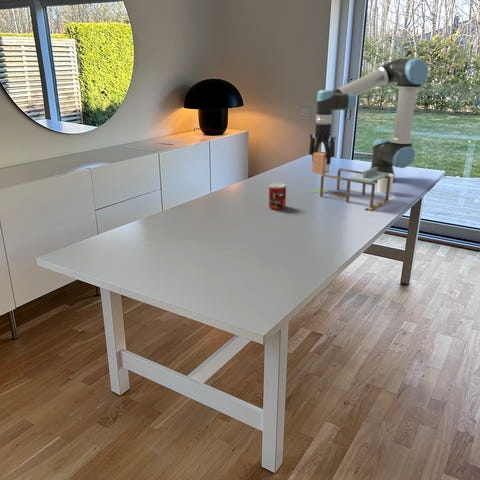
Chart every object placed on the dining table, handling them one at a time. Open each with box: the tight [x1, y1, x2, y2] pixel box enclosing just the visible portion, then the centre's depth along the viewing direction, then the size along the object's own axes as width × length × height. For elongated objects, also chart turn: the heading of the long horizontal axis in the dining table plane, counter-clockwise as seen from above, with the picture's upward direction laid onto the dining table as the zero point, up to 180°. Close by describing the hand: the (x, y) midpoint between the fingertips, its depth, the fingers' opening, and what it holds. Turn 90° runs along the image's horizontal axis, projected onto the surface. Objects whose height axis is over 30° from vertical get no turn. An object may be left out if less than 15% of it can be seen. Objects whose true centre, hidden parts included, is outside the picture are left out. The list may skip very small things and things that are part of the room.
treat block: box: [311, 150, 330, 175], centre depth 237 cm, size 6×6×10 cm
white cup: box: [376, 173, 395, 194], centre depth 240 cm, size 8×8×10 cm
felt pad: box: [308, 187, 331, 195], centre depth 243 cm, size 8×8×1 cm
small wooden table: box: [319, 168, 391, 212], centre depth 232 cm, size 20×38×13 cm, turn 49°
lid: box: [350, 167, 389, 183], centre depth 221 cm, size 19×10×4 cm, turn 139°
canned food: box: [268, 182, 287, 211], centre depth 220 cm, size 8×8×11 cm
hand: (320, 169), depth 238 cm, fingers closed on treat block, 6 cm apart
